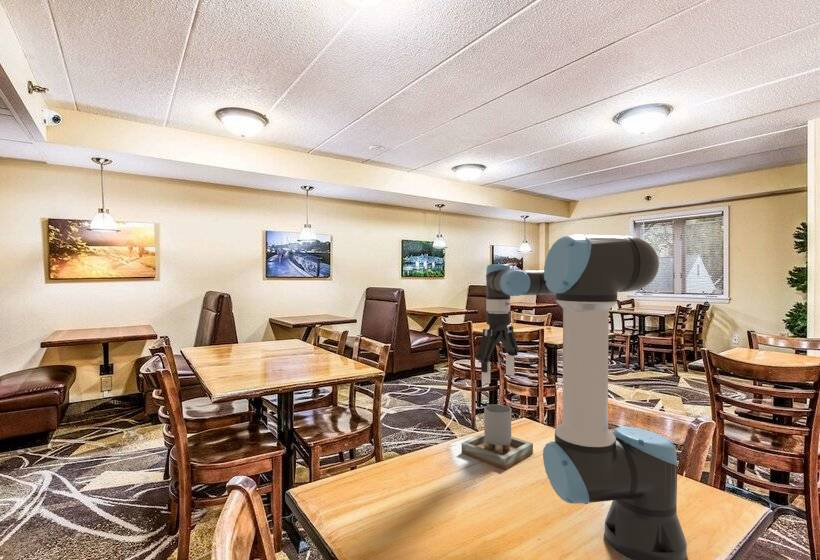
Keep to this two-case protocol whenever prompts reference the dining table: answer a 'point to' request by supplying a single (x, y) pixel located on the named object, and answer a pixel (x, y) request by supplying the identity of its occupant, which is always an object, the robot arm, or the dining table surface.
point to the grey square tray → (497, 451)
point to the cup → (497, 424)
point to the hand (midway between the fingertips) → (498, 378)
